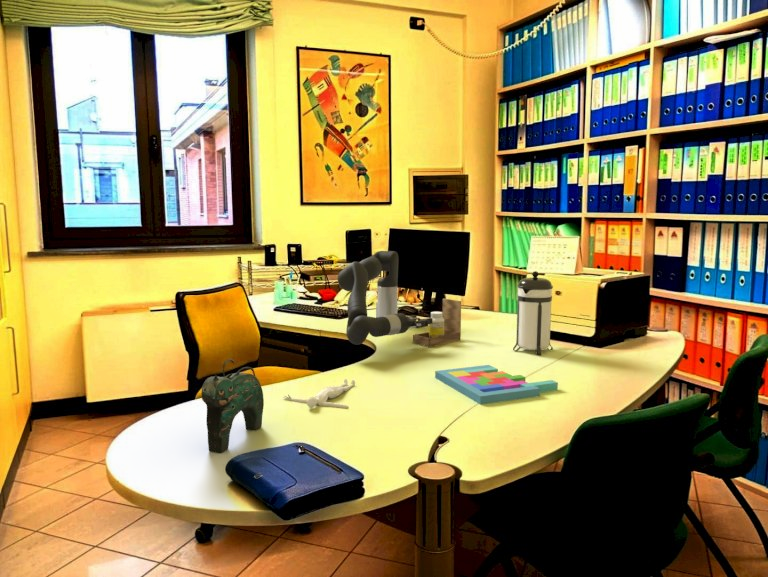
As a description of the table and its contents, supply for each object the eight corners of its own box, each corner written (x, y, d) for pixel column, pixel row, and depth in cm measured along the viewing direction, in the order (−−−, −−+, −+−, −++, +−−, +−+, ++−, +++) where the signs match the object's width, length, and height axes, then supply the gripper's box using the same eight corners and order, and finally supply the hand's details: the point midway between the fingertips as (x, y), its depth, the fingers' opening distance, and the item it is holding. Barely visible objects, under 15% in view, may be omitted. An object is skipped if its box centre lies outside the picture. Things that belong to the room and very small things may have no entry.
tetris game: (480, 406, 171) (563, 394, 181) (480, 396, 171) (563, 385, 181) (435, 379, 197) (510, 370, 207) (435, 370, 197) (510, 362, 207)
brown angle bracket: (412, 343, 245) (412, 303, 243) (443, 336, 257) (444, 298, 255) (429, 347, 238) (429, 306, 236) (460, 340, 250) (461, 301, 248)
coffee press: (561, 355, 225) (564, 273, 221) (517, 355, 225) (519, 273, 221) (548, 344, 242) (551, 268, 238) (507, 344, 242) (509, 268, 238)
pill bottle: (433, 337, 252) (433, 310, 250) (446, 339, 248) (447, 312, 247) (426, 340, 246) (426, 313, 245) (440, 342, 243) (440, 314, 242)
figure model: (377, 380, 186) (339, 401, 163) (377, 393, 186) (339, 415, 163) (316, 374, 194) (272, 392, 171) (316, 385, 194) (272, 406, 171)
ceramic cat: (220, 457, 136) (216, 369, 133) (196, 453, 138) (192, 366, 136) (269, 427, 154) (266, 348, 152) (247, 423, 157) (244, 346, 154)
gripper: (406, 316, 224) (437, 311, 234) (380, 312, 234) (410, 307, 245) (406, 337, 225) (437, 331, 235) (380, 331, 235) (410, 326, 246)
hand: (423, 319), depth 240 cm, fingers open, 8 cm apart
